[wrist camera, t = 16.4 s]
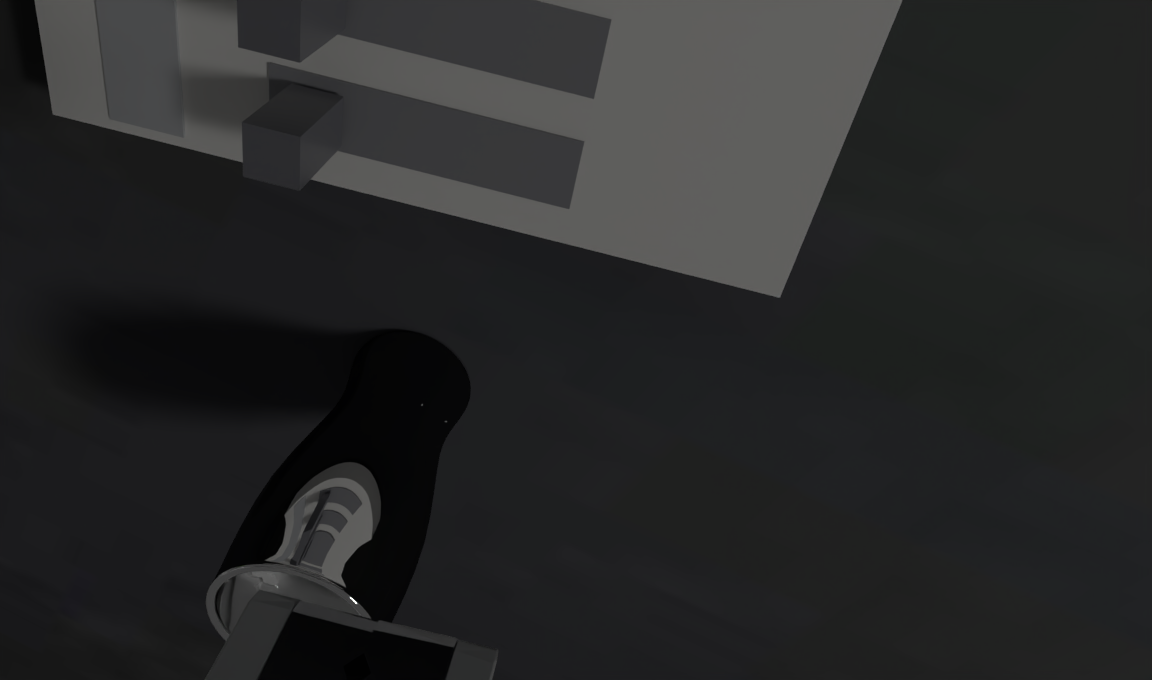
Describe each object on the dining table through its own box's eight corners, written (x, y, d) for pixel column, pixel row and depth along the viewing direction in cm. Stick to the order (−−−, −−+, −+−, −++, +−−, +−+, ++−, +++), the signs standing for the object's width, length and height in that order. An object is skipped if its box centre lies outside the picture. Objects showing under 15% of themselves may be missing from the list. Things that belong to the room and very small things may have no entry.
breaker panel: (97, 89, 37) (-27, 158, 31) (41, -350, 28) (-147, -374, 22) (776, 261, 37) (786, 363, 31) (928, -125, 28) (985, -88, 22)
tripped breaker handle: (290, 14, 30) (238, 47, 27) (290, -45, 29) (236, -19, 26) (345, 28, 30) (300, 62, 27) (348, -31, 29) (300, -2, 26)
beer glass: (432, 453, 46) (327, 707, 34) (322, 380, 45) (170, 620, 32) (507, 379, 43) (420, 633, 31) (390, 296, 41) (248, 532, 29)
